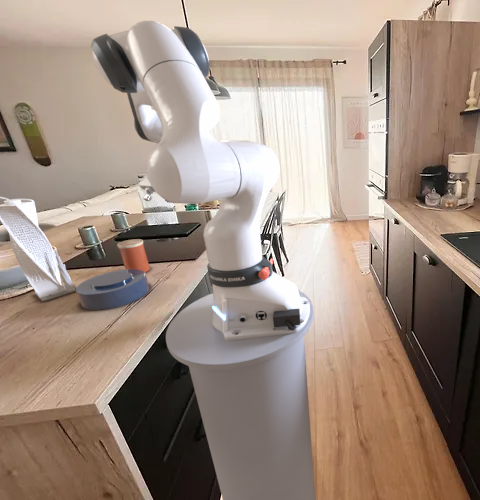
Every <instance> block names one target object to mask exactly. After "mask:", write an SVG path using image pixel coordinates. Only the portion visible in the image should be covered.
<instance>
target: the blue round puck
mask: <svg viewBox="0 0 480 500" xmlns="http://www.w3.org/2000/svg"><path fill="white" fill-rule="evenodd" d="M75 289H76V291H75V293H76V294H77V298H78V299H79V302H80V305H81V307H82V308H83V309H85V310H89V311H90V310H91V311H100V310H101V311H102V310H109V309H110V310H111V309H114V308H119V307H121V306H125V305H128V304H130V303H133V302H135V301H137V300H139V299H140V298H142V297H144V296H145V295H146V294H147V293H148V292H149V290H150V285H149V282H148V278H147V273H146V272H144V271H142V270H138V269H125V268H124V269H118V270H114V271H113V270H112V271H109V272H104V273H100V274H98V275H95V276H92V277H90V278H88V279H86V280H84V281H82V282H80V283H79V284H78V285H77V286H76V288H75Z"/></svg>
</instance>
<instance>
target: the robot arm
mask: <svg viewBox="0 0 480 500" xmlns="http://www.w3.org/2000/svg"><path fill="white" fill-rule="evenodd" d="M91 41H92V42H91V44H90V48H91V55H92V61H93V63H94V66H95V67H96V70H97V71H98V72H99V74H100V75H101V76H102V78H103V79H104V80H105V81H106V82H107V83H108V84H110V86H112V87H113V89H115V90H117V91H119V92H121V93H122V94H123V93H124V94H126V96H127V98H128V102H129V106H130V109H131V112H132V116H133V123H134V124H133V125H134V129H135V130H134V131H136V134H137V135H138V136H139V137H140V138H141V139H142V140H143V141H147V142H150V143H155V144H156V145H155V146H154V147H153V148H152V149H151V150H150V152H149V154H148V156H147V158H146V164H145V171H146V173H145V174H144V175H143V177H142V178H141V180H140V181H139V183H138V185H139V188H141V189H142V190H144V195H143V197H142V199H143V200H144V201H146V202H151V201H152V199H153V197H152V195H153V194H154V193H156V194H157V195H158V196H159V197H160V198H162V199H163V200H164V201H165V202H166V203H169V204H170V203H171V204H183V205H184V204H185V205H186V204H188V205H189V204H190V205H191V204H192V205H193V204H194V205H195V204H198V205H199V204H205V203H209V202H210V203H211V202H215V201H216V202H217V201H220V205H219V207H218V210H217V212H216V214H215V215H214V216H213V217H212V218H211V219H210V220H209V221H207V223H206V224H205V225H204V229H203V233H202V234H203V236H202V237H203V241H204V245H205V251H206V256H207V262H208V263H207V265H206V267H207V274H208V275H207V276H208V279H209V283H210V286H211V287H212V293H213V300H214V306H213V318H212V325H213V327H214V328H215V329H216V330H218V331H220V332H221V333H222V334H223V336H224V338H225V340H227V341H233V340H241V339H249V338H258V337H266V336H275V335H283V334H291V333H296V332H298V331H300V330H301V329H302V328H303V327H304V326H305V324H306V323H307V321H308V318H309V315H310V304H309V301H308V300H307V299H306V298H305V297H300V296H299V292H298V290H299V289H298V287H297V284H295V283H294V282H292V281H291V280H288V279H287V278H285V277H283V276H281V275H280V274H278V273H276V272H275V271H273V270H274V269H273V264H274V262H273V261H274V260H273V258H270V260H268V259H267V258H265V257H264V255H263V251H262V239H261V218H262V214H263V213H262V212H263V209H264V206H265V202H266V199H267V197H268V195H269V194H270V191H271V190H272V188H273V187H274V186H275V185H276V184H277V182H278V180H279V177H280V171H281V170H280V169H281V167H280V162H279V159H278V157H277V154H276V153H275V151H274V149H272V148H271V147H270V146H268V145H266V144H263V143H259V142H255V141H252V140H219V139H216V138H215V137H214V136H213V135H212V134H211V132H210V131H212V130H213V129H214V128H215V127H216V125H217V124H218V123H219V119H220V113H221V112H220V111H221V110H220V109H221V108H220V105H219V101H218V100H217V98H216V96H215V94H214V92H213V90H212V89H211V87H210V85H209V83H208V82H207V80H206V78H207V77H208V76H209V73H210V70H211V68H210V59H209V54H208V51H207V48H206V46H205V45H204V43H203V42H202V40H201V38H200V37H199V34H197V33H196V32H194V30H192V29H191V28H189V27H185V26H173V27H168V26H167V25H165V24H163V23H161V22H159V21H155V20H141V21H138V22H136V23H134V24H133V25H132V26H131V27H130V28H129V29H128V30H123V31H120V32H116V33H112V34H108V33H104V34H101V35H99V36H97V37H95V38H93V39H92V40H91Z"/></svg>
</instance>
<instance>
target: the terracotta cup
mask: <svg viewBox="0 0 480 500" xmlns="http://www.w3.org/2000/svg"><path fill="white" fill-rule="evenodd" d="M116 244H117V245H116V247H117V248H118V250H119V253H120V256H121V260H122V263H123V266H124V270H125V269H138V270H142V271H144V272H145V273H147V272H149V271H150V270H151V267H150V266H151V265H150V263H149V259H148V256H147V252H146V249H145V245H144V240H143V239H140V238H135V239H133V238H132V239H128V240H123V241H119V242H118V243H116Z"/></svg>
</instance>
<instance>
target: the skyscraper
mask: <svg viewBox="0 0 480 500" xmlns="http://www.w3.org/2000/svg"><path fill="white" fill-rule="evenodd" d="M0 200H3V203H2V204H0V222H1V224H2V225H3V227H4V229H6V231H7V232H8V236H9V241H10V245H11V249H12V251H13V254H14V257H15V259H16V262H17V263H18V265H19V267H20V269H21V271H22V273H23V275H24V277H25V278H26V280H27V281H28V283H29V284H30V285H31V287H32V288H33V290H34V294H35V296H36V297H37V298H38V299H40V300H41V301H42V302H43V303H44V302H48V301H50V300H54V299H57V298H60V297H63V296H66V295H69V294H72V293H76V288H75V286H74V284H73V282H72V278H71V277H70V274H69V273H68V271H67V268H66V264H65V263H63V261H62V259H61V256H60V255H59V254H58V252H57V250H56V249H54V248H53V246H52V244H51V243H50V240H49V239H48V237H47V235H46V234H45V233H44V232H43V230H42V229H41V227H40V226H39V219H38V214H37V207H36V203H35V200H33V199H31V198H11V199H10V198H7V197H4V196H0ZM61 279H62V280H61ZM62 282H63V284H62Z"/></svg>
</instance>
